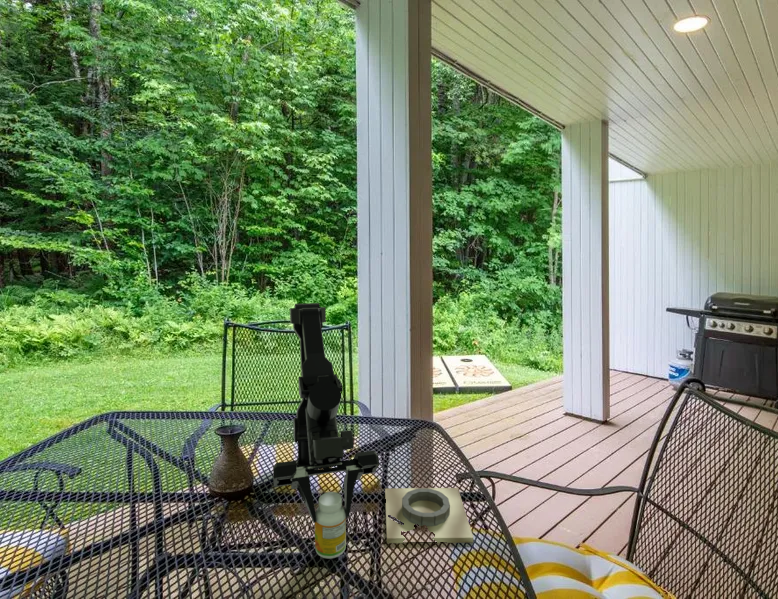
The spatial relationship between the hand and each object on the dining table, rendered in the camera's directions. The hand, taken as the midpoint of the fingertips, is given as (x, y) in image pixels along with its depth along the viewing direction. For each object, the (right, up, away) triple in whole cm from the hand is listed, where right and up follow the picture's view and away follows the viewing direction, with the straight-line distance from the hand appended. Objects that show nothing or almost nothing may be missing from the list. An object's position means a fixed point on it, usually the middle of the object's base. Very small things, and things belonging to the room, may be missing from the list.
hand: (331, 519), depth 77 cm
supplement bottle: (0, -6, +2) cm, 7 cm away
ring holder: (+17, -6, +14) cm, 23 cm away
